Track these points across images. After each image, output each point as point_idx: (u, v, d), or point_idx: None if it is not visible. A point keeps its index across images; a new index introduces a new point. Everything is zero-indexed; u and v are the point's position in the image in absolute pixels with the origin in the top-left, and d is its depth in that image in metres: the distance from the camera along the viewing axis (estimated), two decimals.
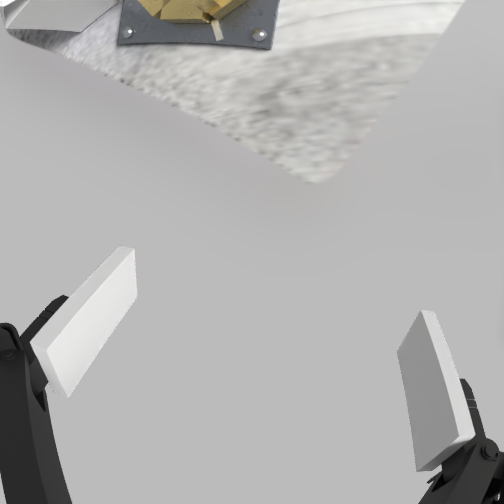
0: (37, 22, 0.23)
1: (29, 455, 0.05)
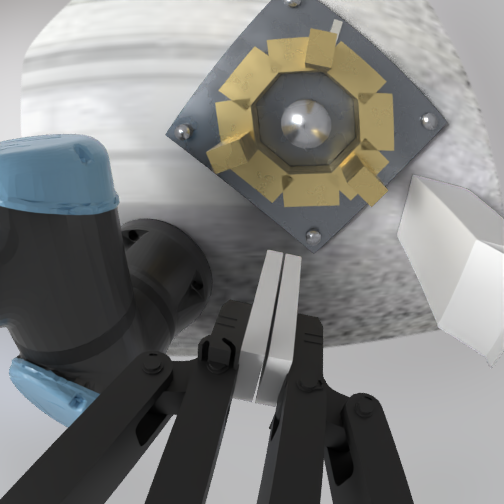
0: None
1: (199, 480, 0.06)
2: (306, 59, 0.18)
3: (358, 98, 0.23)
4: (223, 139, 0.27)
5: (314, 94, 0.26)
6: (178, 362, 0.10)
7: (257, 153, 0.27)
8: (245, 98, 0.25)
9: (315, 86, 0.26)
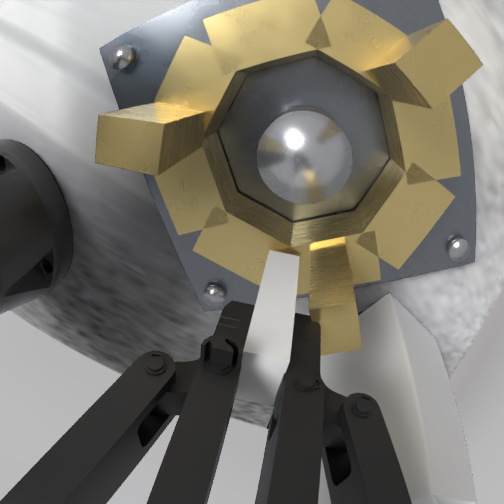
0: (461, 441, 0.13)
1: (201, 481, 0.06)
2: (401, 60, 0.07)
3: (407, 170, 0.13)
4: (160, 100, 0.14)
5: (341, 115, 0.16)
6: (181, 363, 0.10)
7: (197, 152, 0.15)
8: (235, 55, 0.12)
9: (351, 105, 0.15)
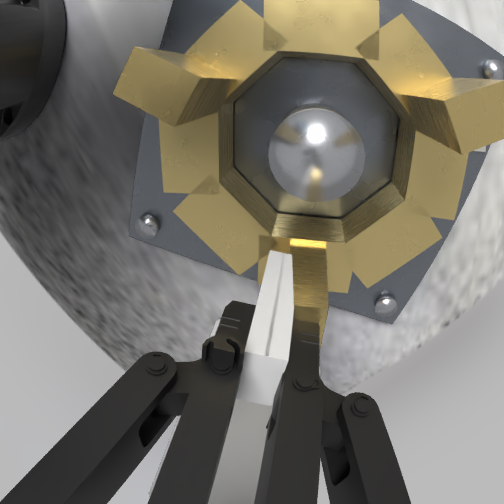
0: None
1: (202, 482, 0.06)
2: (451, 100, 0.07)
3: (407, 199, 0.14)
4: (192, 53, 0.12)
5: (361, 138, 0.16)
6: (182, 363, 0.10)
7: (211, 116, 0.14)
8: (283, 36, 0.11)
9: (375, 135, 0.16)
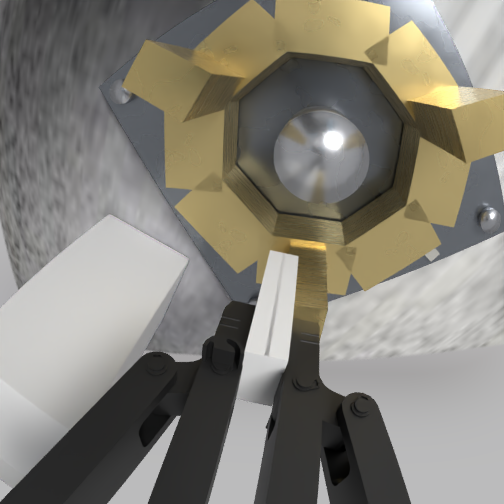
0: None
1: (202, 481, 0.06)
2: (458, 109, 0.07)
3: (408, 204, 0.14)
4: (201, 49, 0.12)
5: None
6: (182, 363, 0.10)
7: (217, 113, 0.14)
8: (293, 36, 0.11)
9: (365, 179, 0.17)
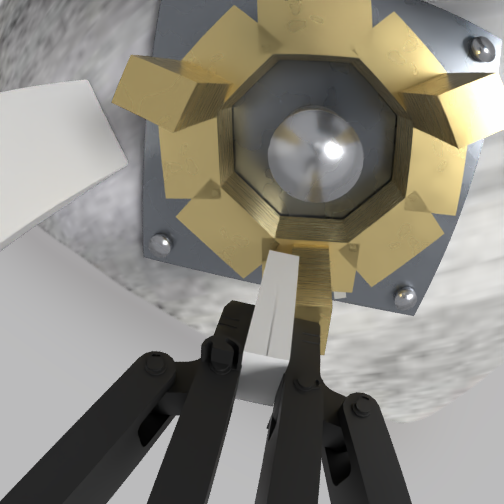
0: None
1: (201, 481, 0.06)
2: (445, 95, 0.07)
3: (407, 196, 0.14)
4: (188, 60, 0.13)
5: None
6: (181, 363, 0.10)
7: (210, 121, 0.14)
8: (277, 39, 0.12)
9: None
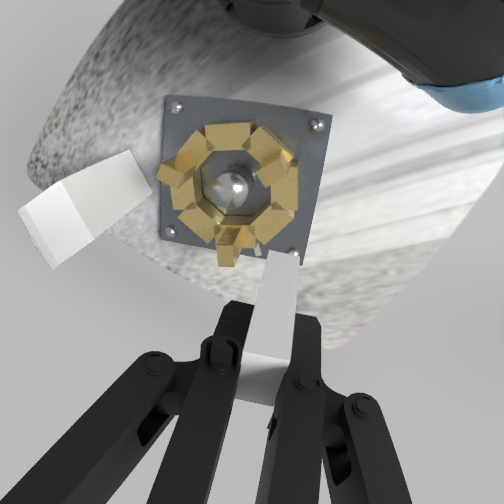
0: None
1: (201, 481, 0.06)
2: (257, 171, 0.30)
3: (272, 203, 0.36)
4: (180, 153, 0.35)
5: None
6: (180, 363, 0.10)
7: (190, 178, 0.36)
8: (213, 144, 0.34)
9: (245, 206, 0.40)
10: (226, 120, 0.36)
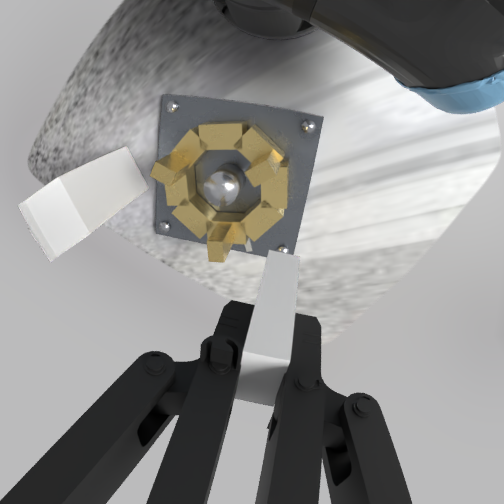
0: None
1: (201, 481, 0.06)
2: (246, 171, 0.31)
3: (262, 202, 0.38)
4: (174, 151, 0.36)
5: None
6: (180, 363, 0.10)
7: (183, 175, 0.38)
8: (206, 144, 0.35)
9: (237, 203, 0.42)
10: (220, 120, 0.37)
